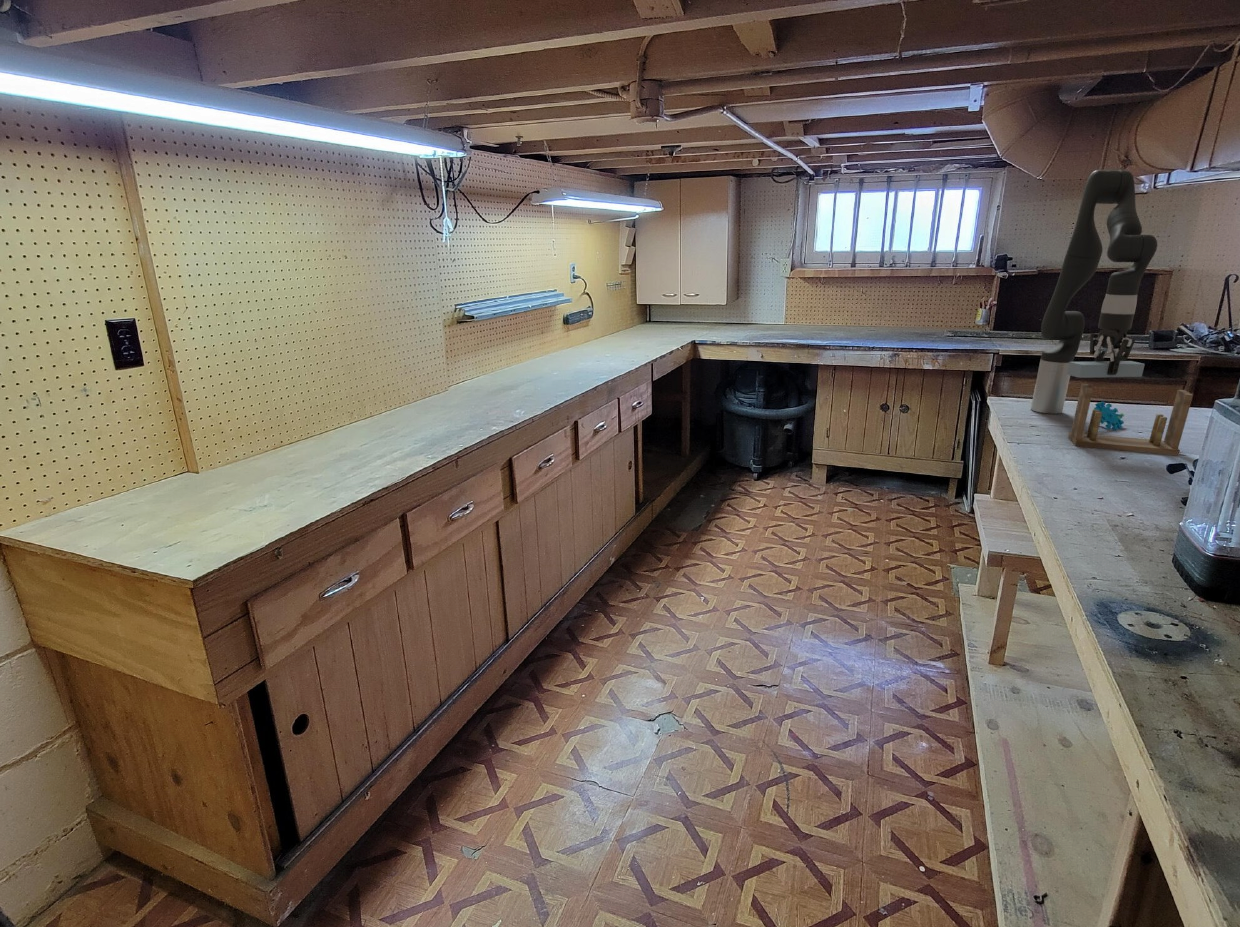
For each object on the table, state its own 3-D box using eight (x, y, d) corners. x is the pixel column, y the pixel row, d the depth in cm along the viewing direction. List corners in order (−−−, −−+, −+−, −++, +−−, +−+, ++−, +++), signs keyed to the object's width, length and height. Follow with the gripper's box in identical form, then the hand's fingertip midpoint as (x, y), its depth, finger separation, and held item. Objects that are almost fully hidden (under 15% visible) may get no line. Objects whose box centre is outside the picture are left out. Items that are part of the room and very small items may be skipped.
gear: (1105, 427, 201) (1092, 399, 206) (1089, 436, 207) (1076, 409, 211) (1133, 429, 205) (1119, 401, 209) (1115, 438, 210) (1103, 411, 214)
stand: (1068, 437, 197) (1080, 382, 192) (1166, 446, 189) (1182, 389, 183) (1075, 446, 189) (1088, 389, 184) (1178, 455, 181) (1195, 396, 175)
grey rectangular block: (1128, 373, 191) (1131, 360, 190) (1141, 376, 186) (1144, 363, 185) (1066, 374, 190) (1069, 361, 189) (1079, 377, 186) (1081, 364, 185)
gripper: (1151, 313, 176) (1136, 377, 181) (1111, 309, 190) (1098, 368, 195) (1124, 314, 176) (1109, 377, 181) (1086, 309, 189) (1073, 368, 195)
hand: (1104, 372), depth 188 cm, fingers closed on grey rectangular block, 5 cm apart
